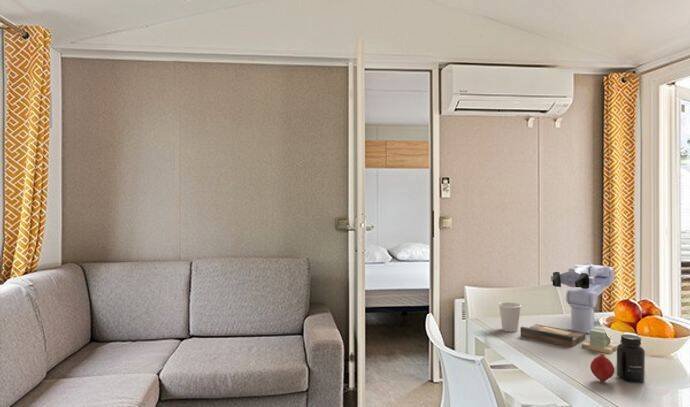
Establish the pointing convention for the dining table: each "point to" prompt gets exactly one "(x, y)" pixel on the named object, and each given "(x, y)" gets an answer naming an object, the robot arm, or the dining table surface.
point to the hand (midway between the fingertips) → (564, 283)
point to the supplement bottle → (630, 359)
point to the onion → (602, 368)
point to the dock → (552, 335)
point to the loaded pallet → (607, 349)
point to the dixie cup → (510, 316)
